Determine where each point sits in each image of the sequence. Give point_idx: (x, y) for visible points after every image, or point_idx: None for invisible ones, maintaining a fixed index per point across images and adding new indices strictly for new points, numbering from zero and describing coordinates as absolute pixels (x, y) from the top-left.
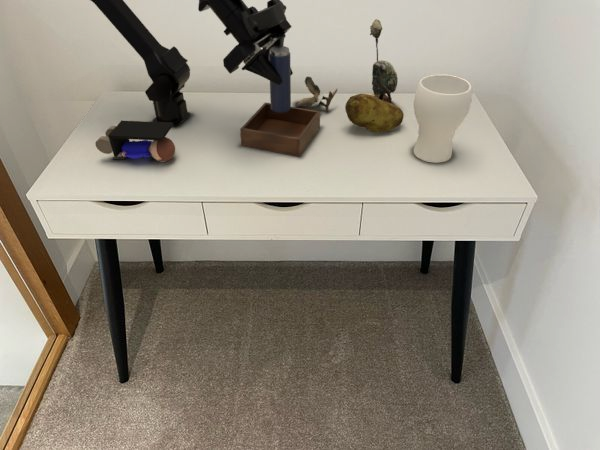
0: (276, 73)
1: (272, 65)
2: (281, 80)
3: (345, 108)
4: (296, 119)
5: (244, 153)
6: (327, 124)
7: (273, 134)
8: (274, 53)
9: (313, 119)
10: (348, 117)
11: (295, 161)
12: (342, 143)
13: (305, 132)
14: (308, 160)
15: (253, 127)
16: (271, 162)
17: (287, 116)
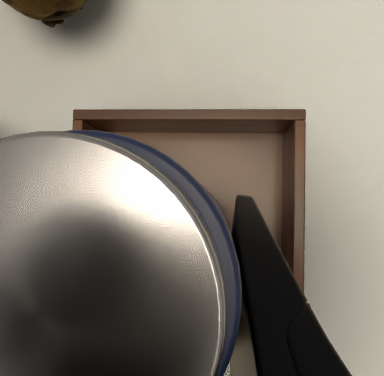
0: (261, 245)
1: (252, 309)
2: (249, 199)
3: (58, 2)
4: None
5: (330, 299)
6: (70, 109)
7: (302, 214)
8: (221, 345)
9: (142, 112)
10: (78, 6)
11: (321, 129)
12: (171, 30)
13: (241, 110)
14: (302, 94)
15: None
16: (352, 197)
17: None
